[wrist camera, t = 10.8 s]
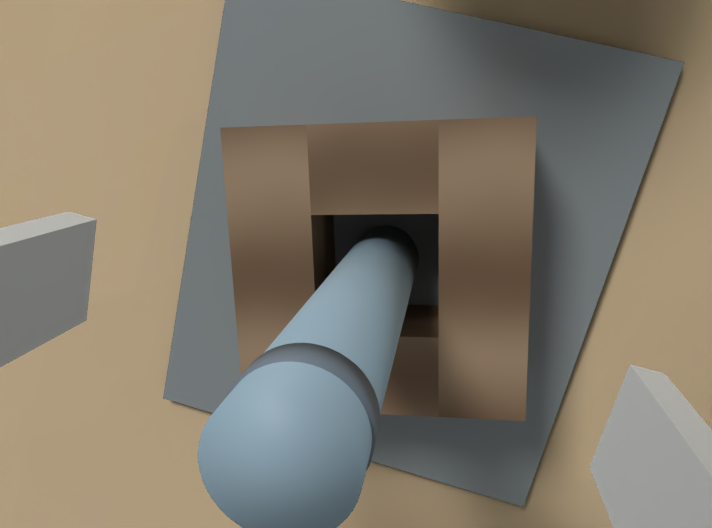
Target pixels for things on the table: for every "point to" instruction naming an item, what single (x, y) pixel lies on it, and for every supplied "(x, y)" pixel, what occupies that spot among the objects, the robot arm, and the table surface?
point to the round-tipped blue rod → (313, 397)
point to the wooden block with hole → (395, 196)
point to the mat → (431, 102)
